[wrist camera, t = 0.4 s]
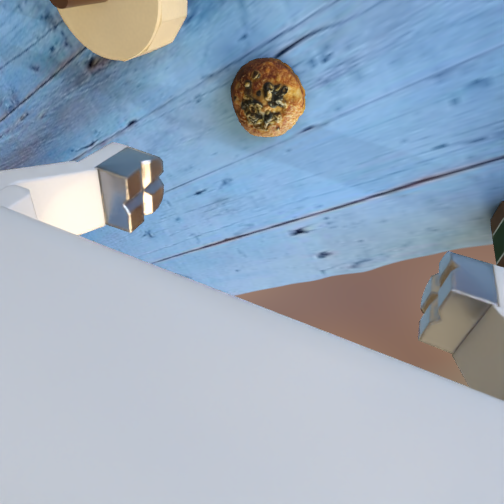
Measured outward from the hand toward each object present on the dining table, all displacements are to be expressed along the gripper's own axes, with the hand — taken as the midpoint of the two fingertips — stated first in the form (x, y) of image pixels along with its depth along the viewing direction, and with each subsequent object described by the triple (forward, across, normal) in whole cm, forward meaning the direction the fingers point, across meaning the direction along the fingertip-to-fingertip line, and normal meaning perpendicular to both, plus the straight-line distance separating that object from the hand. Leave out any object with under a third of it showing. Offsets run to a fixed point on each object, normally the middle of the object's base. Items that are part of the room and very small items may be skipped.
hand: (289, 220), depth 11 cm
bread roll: (+46, +15, +14) cm, 51 cm away
